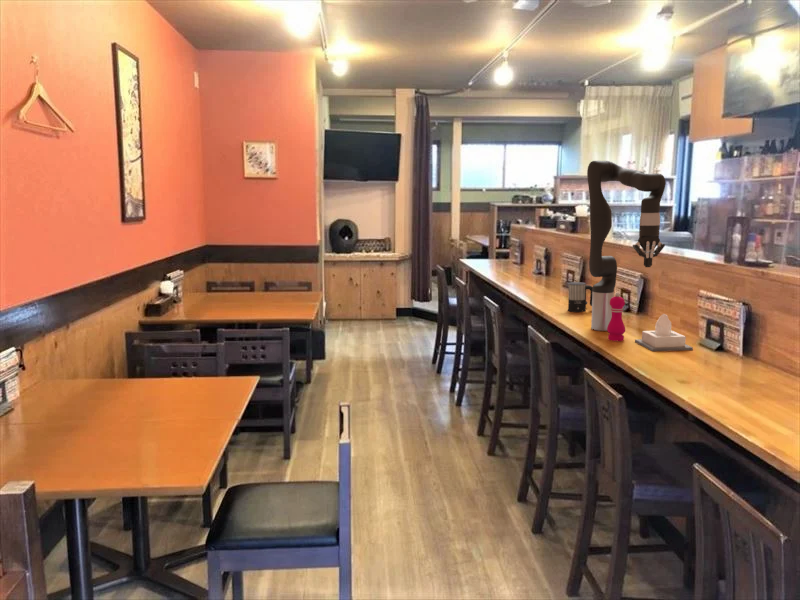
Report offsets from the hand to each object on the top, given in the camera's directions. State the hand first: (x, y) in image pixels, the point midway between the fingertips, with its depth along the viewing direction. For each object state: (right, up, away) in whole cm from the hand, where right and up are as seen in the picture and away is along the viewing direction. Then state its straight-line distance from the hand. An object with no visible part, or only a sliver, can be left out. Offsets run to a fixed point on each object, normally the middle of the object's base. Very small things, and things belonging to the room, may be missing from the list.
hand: (647, 267), depth 250 cm
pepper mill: (-10, -30, +10) cm, 33 cm away
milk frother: (-5, -19, +80) cm, 82 cm away
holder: (+5, -32, -3) cm, 32 cm away
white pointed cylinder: (+5, -31, -3) cm, 31 cm away
